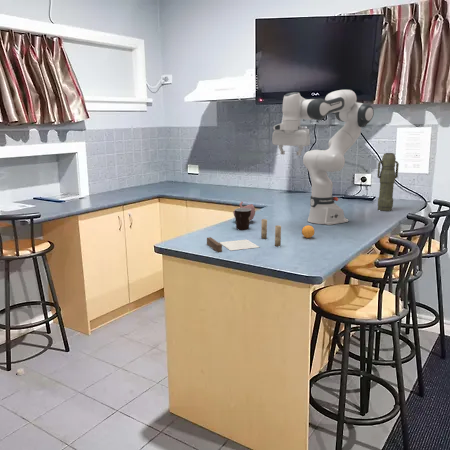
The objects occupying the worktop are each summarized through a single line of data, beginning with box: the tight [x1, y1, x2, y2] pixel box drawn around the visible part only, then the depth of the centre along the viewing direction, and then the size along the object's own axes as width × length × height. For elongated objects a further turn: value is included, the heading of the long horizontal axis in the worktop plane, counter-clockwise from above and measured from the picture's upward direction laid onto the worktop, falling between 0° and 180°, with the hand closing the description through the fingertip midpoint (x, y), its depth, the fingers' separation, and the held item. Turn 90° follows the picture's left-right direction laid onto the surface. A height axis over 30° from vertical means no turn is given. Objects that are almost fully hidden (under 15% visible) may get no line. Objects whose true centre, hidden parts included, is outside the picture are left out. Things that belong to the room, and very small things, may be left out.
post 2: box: [274, 225, 282, 247], centre depth 210 cm, size 3×3×9 cm
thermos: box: [376, 152, 400, 212], centre depth 286 cm, size 9×12×35 cm
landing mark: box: [218, 239, 260, 252], centre depth 212 cm, size 14×14×1 cm
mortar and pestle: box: [232, 201, 256, 222], centre depth 256 cm, size 12×12×12 cm
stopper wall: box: [206, 236, 223, 253], centre depth 207 cm, size 2×14×3 cm, turn 21°
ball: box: [301, 225, 316, 239], centre depth 224 cm, size 6×6×6 cm
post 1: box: [260, 218, 268, 240], centre depth 223 cm, size 3×3×9 cm
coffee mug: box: [234, 207, 251, 231], centre depth 240 cm, size 12×9×10 cm
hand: (290, 154), depth 232 cm, fingers open, 8 cm apart
